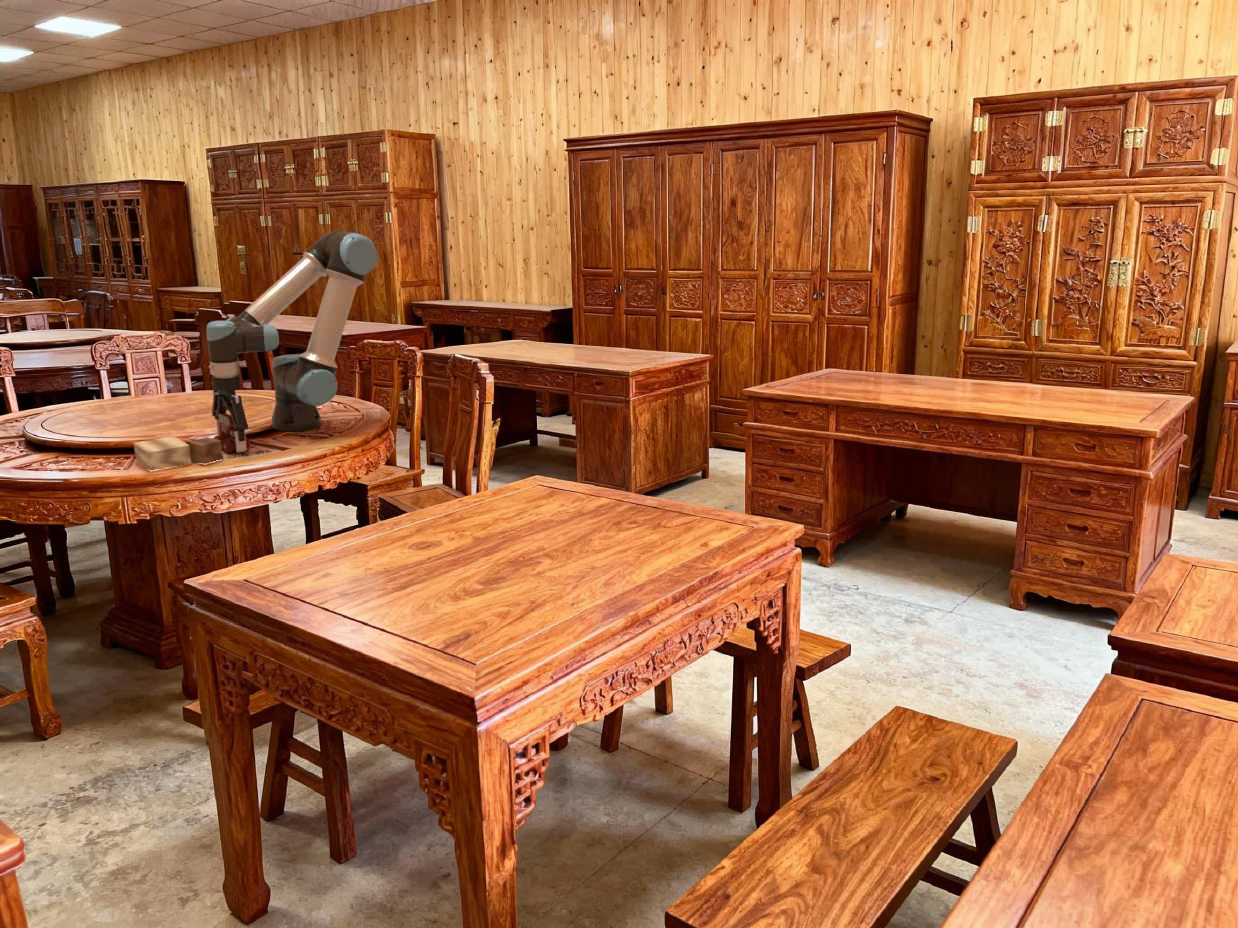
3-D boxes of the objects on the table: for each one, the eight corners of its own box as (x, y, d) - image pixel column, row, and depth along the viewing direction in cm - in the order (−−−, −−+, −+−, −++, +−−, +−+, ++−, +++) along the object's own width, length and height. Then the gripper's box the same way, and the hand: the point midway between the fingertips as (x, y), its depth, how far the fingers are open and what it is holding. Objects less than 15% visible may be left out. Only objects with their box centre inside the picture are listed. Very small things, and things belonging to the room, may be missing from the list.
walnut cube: (209, 456, 266) (207, 436, 264) (222, 460, 263) (220, 440, 261) (190, 462, 261) (188, 441, 259) (204, 466, 258) (202, 445, 256)
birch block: (176, 455, 266) (174, 436, 264) (191, 465, 259) (189, 445, 257) (136, 463, 259) (133, 443, 257) (150, 473, 251) (147, 452, 249)
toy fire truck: (231, 456, 267) (228, 422, 263) (211, 446, 274) (207, 413, 271) (254, 451, 272) (251, 417, 268) (234, 442, 279) (230, 409, 276)
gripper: (195, 369, 271) (202, 438, 278) (230, 385, 255) (237, 458, 262) (220, 365, 276) (227, 434, 283) (256, 381, 260) (262, 453, 267)
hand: (232, 445), depth 272 cm, fingers closed on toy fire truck, 12 cm apart
